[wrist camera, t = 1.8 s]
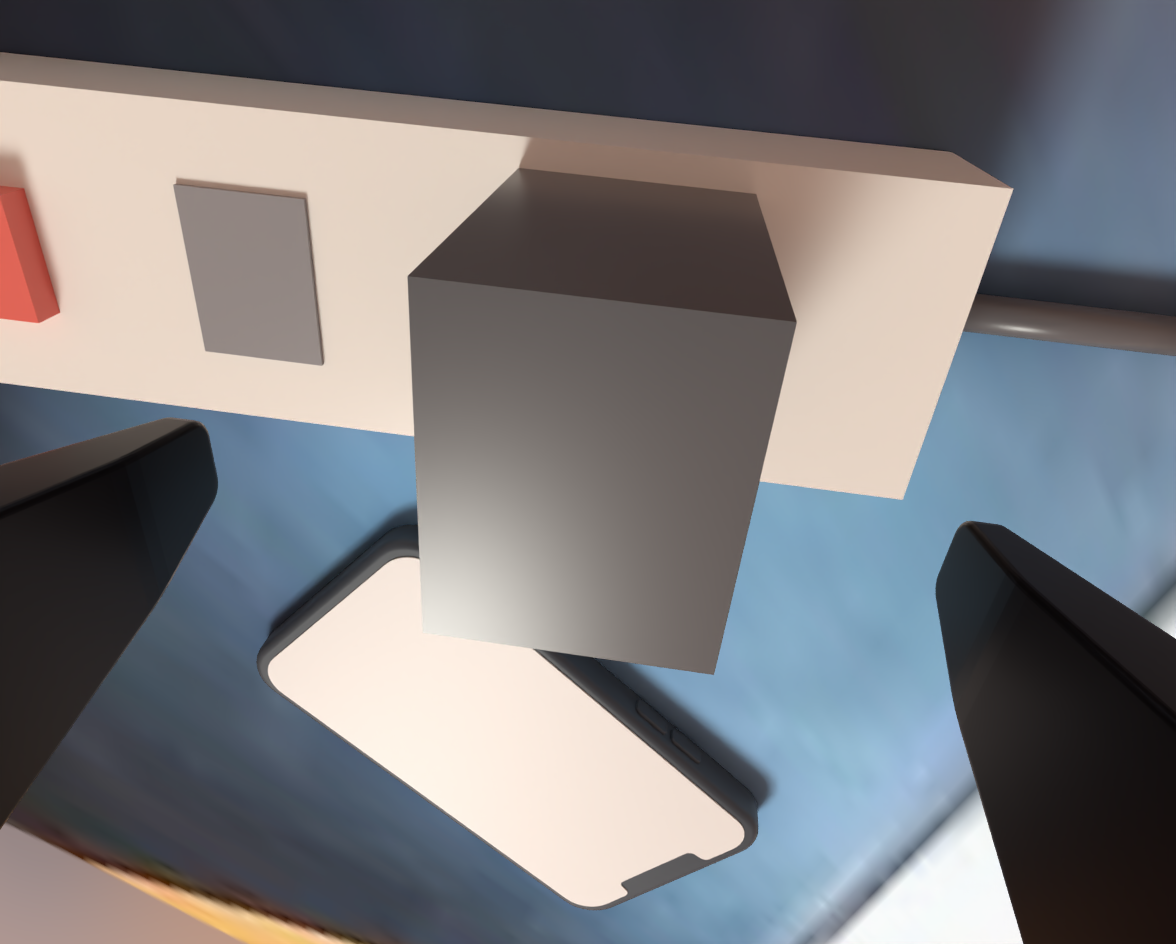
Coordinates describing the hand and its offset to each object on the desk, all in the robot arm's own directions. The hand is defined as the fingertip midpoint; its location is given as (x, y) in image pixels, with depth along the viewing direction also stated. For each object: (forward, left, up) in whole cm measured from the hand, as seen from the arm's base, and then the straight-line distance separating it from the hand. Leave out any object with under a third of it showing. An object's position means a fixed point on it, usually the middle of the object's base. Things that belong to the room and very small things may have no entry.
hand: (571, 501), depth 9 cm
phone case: (-16, +2, -10) cm, 19 cm away
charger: (0, 0, -8) cm, 8 cm away
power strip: (0, 0, -9) cm, 9 cm away
